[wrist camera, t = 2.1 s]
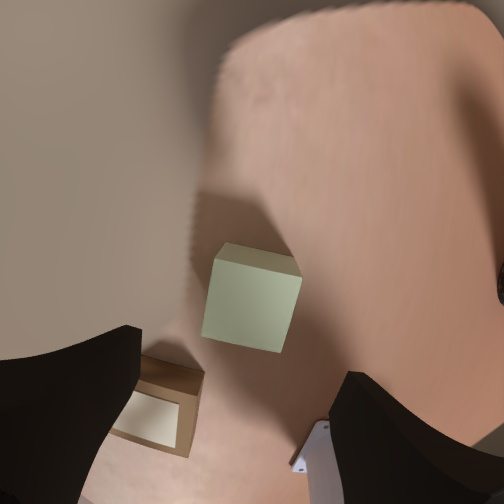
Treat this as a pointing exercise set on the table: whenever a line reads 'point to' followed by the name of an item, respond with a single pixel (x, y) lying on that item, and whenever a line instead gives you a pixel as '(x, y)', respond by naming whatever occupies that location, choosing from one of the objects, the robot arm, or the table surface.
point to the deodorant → (501, 286)
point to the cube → (251, 297)
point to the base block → (162, 408)
